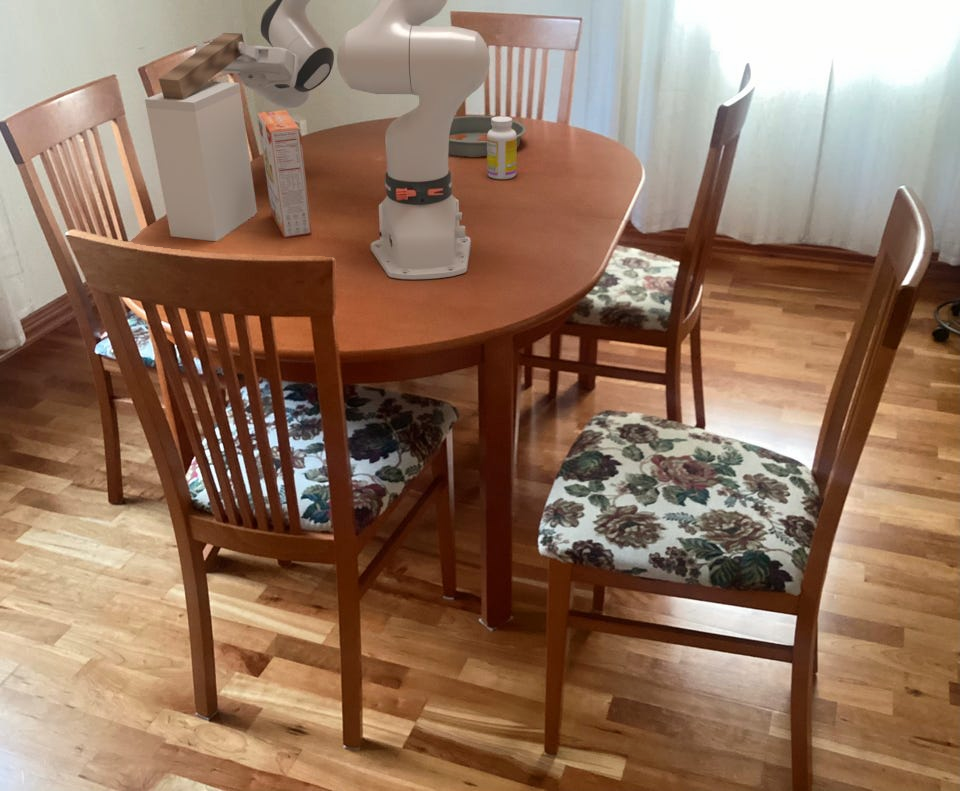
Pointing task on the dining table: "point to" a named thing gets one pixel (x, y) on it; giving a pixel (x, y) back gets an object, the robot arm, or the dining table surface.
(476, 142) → the cake pan
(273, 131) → the cracker box
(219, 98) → the grey pedestal
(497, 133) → the supplement bottle
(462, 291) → the dining table surface
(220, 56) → the walnut bar
